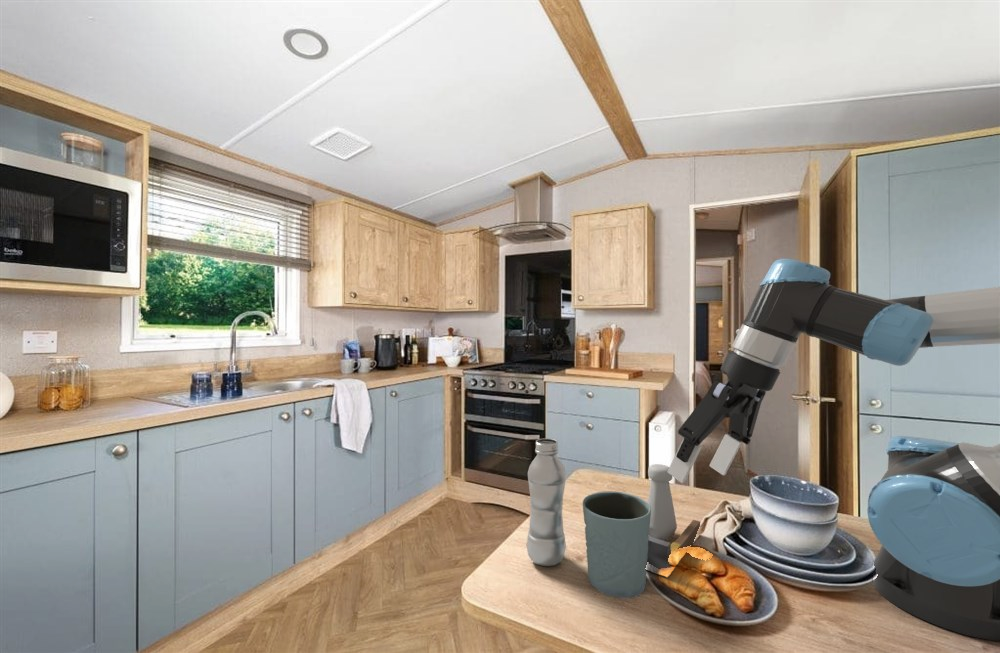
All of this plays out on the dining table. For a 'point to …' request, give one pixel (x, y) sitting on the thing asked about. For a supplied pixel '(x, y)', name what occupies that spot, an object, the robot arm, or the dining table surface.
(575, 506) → the dining table surface
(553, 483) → the plastic bottle
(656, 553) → the dark grey angled piece
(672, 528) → the salt shaker
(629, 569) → the green cup
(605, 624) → the dining table surface
